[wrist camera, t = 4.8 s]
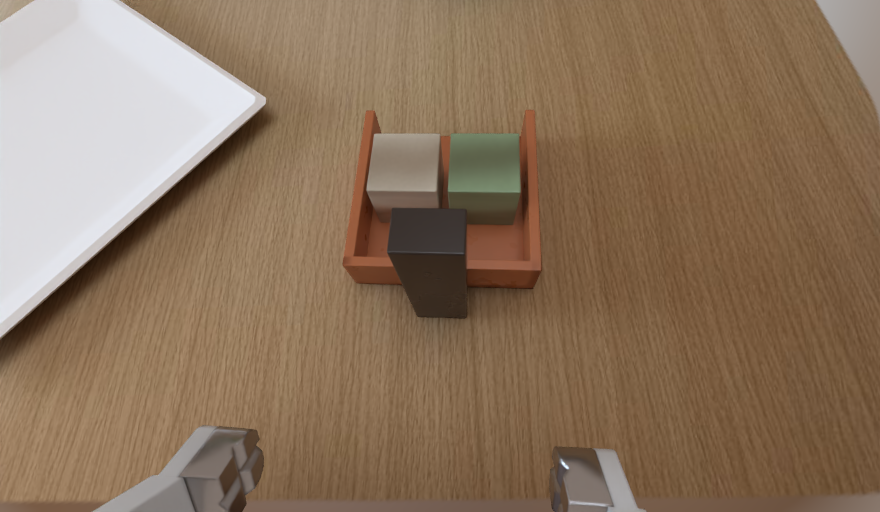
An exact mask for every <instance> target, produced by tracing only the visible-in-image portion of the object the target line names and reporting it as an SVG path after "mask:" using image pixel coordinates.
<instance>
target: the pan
mask: <svg viewBox="0 0 880 512" xmlns="http://www.w3.org/2000/svg"><path fill="white" fill-rule="evenodd" d="M374 134H381V130H380V127H379V124H378V120H377V117H376V114H375V111H366V115H365V122H364V128H363V135H362V141H361V148H360V154H359V161H358V167H357V174H356V180H355V187H354V193H353V200H352V206H351V213H350V219H349V226H348V232H347V239H346V245H345V252H344V258H343V267H344V268H345V269H346V270H347V272H348V273H349V274H350V275H351V277H352V278H353V279H354V280H355V282H356V283H364V284H397V285H403V287H404V289H405V291H406V294H407V296H408V298H409V300H410V302H411V304H412V306H413V308H414V310H415V312H416V315H417V316H418V317H440V318H466V317H467V289H468V287H495V288H528V289H533V287H534V285H535V283H536V281H537V279H538V277H539V275H540V273H541V271H542V263H541V241H540V218H539V196H538V173H537V151H536V128H535V111H534V110H526V111H525V115H524V121H523V126H522V132H521V136H519V144H520V183H521V193H520V198H519V202H518V206H517V211H516V215H515V220H514V224H513V225H482V224H467V210H466V209H449V199H448V177H449V159H450V140H451V136H441V146H442V156H443V167H444V181H443V198H442V208H392V210H391V219H390V223H384V222H380V220H379V218H378V216H377V213H376V211H375V209H374V207H373V204H372V202H371V200H370V197H369V195H368V193H367V190H366V189H367V182H368V175H369V168H370V161H371V154H372V146H373V139H374Z"/></svg>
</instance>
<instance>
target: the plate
mask: <svg viewBox="0 0 880 512" xmlns="http://www.w3.org/2000/svg"><path fill="white" fill-rule="evenodd" d="M265 104H266V98H265V97H264V96H262V95H261V94H259V93H258V92H256V91H255V90H253V89H252V88H250V87H249V86H247V85H246V84H244V83H243V82H241V81H240V80H238V79H237V78H235V77H234V76H232V75H231V74H229V73H228V72H226V71H225V70H223V69H222V68H220V67H219V66H217V65H216V64H214V63H213V62H211V61H210V60H208V59H207V58H205V57H204V56H202V55H201V54H199V53H198V52H196V51H195V50H193V49H192V48H190V47H189V46H187V45H186V44H184V43H183V42H181V41H180V40H178V39H177V38H175V37H174V36H172V35H171V34H169V33H168V32H166V31H165V30H163V29H162V28H160V27H159V26H157V25H156V24H154V23H153V22H151V21H150V20H148V19H147V18H145V17H144V16H142V15H141V14H139V13H138V12H136V11H135V10H133V9H132V8H130V7H129V6H127V5H126V4H124V3H123V2H121V1H120V0H34V1H33V2H31V3H30V4H28V5H27V6H25V7H24V8H22V9H20V10H19V11H17V12H16V13H14V14H13V15H11V16H10V17H8V18H7V19H5V20H4V21H2V22H1V23H0V339H2V338H3V337H4V336H5V335H6V334H7V333H8V332H9V331H11V330H12V329H13V328H14V327H15V326H16V325H17V324H19V323H20V322H21V321H22V320H23V319H24V318H25V317H26V316H28V315H29V314H30V313H31V312H32V311H33V310H34V309H36V308H37V307H38V306H39V305H40V304H41V303H42V302H43V301H45V300H46V299H47V298H48V297H49V296H50V295H51V294H53V293H54V292H55V291H56V290H57V289H58V288H59V287H60V286H62V285H63V284H64V283H65V282H66V281H67V280H68V279H70V278H71V277H72V276H73V275H74V274H75V273H76V272H77V271H79V270H80V269H81V268H82V267H83V266H84V265H85V264H87V263H88V262H89V261H90V260H91V259H92V258H93V257H94V256H96V255H97V254H98V253H99V252H100V251H101V250H102V249H104V248H105V247H106V246H107V245H108V244H109V243H110V242H111V241H113V240H114V239H115V238H116V237H117V236H118V235H119V234H121V233H122V232H123V231H124V230H125V229H126V228H127V227H128V226H130V225H131V224H132V223H133V222H134V221H135V220H136V219H138V218H139V217H140V216H141V215H142V214H143V213H144V212H145V211H147V210H148V209H149V208H150V207H151V206H152V205H153V204H155V203H156V202H157V201H158V200H159V199H160V198H161V197H162V196H164V195H165V194H166V193H167V192H168V191H169V190H170V189H172V188H173V187H174V186H175V185H176V184H177V183H178V182H179V181H181V180H182V179H183V178H184V177H185V176H186V175H187V174H189V173H190V172H191V171H192V170H193V169H194V168H195V167H197V166H198V165H199V164H200V163H201V162H202V161H203V160H204V159H206V158H207V157H208V156H209V155H210V154H211V153H212V152H214V151H215V150H216V149H217V148H218V147H219V146H220V145H221V144H223V143H224V142H225V141H226V140H227V139H228V138H229V137H231V136H232V135H233V134H234V133H235V132H236V131H237V130H238V129H240V128H241V127H242V126H243V125H244V124H245V123H246V122H248V121H249V120H250V119H251V118H252V117H253V116H254V115H255V114H257V113H258V112H259V111H260V110H261V109H262V108H263V107H264V105H265Z"/></svg>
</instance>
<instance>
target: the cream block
mask: <svg viewBox="0 0 880 512" xmlns="http://www.w3.org/2000/svg"><path fill="white" fill-rule="evenodd" d="M443 181H444V167H443V156H442V146H441V136H440V134H374V139H373V146H372V154H371V161H370V168H369V175H368V182H367V189H366V190H367V193H368V195H369V197H370V200H371V202H372V204H373V207H374V209H375V211H376V213H377V216H378V218H379V220H380V222H384V223H390V219H391V210H392V208H442V198H443Z"/></svg>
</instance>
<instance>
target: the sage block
mask: <svg viewBox="0 0 880 512" xmlns="http://www.w3.org/2000/svg"><path fill="white" fill-rule="evenodd" d="M520 193H521V183H520V144H519V134H451V140H450V159H449V177H448V199H449V209H466V210H467V224H482V225H513V224H514V220H515V215H516V211H517V206H518V202H519V198H520Z"/></svg>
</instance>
